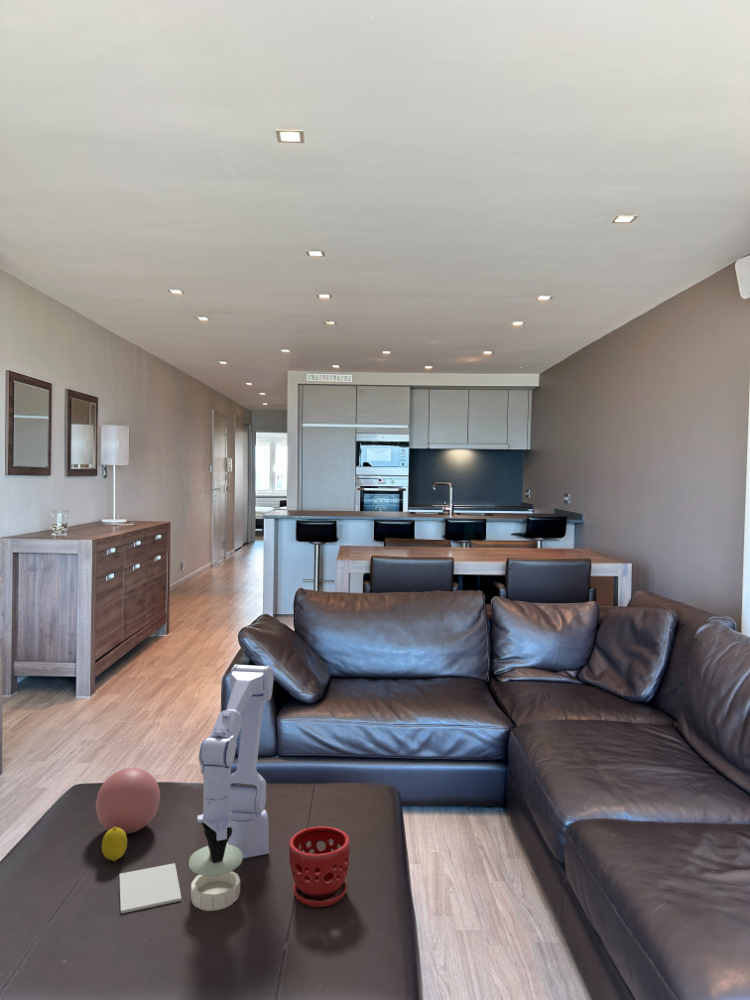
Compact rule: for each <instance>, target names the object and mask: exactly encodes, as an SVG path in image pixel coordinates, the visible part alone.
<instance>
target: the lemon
mask: <svg viewBox="0 0 750 1000" xmlns="http://www.w3.org/2000/svg"><path fill="white" fill-rule="evenodd" d="M127 837H128V836H127V834H126V833H125V832H124V830H123V829H121V828H118V827H113V828H112V829H110V830H107V832H105V834H104V835H103V838H102V842H101V852H102V855H103V856H104V857H105V859H107V860H109V861H112V862H116V861H117V860H119V859H120V858H122V857H123V855H124V854H125V853H126V850H127V848H128V838H127Z"/></svg>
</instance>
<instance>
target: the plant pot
mask: <svg viewBox="0 0 750 1000" xmlns="http://www.w3.org/2000/svg"><path fill="white" fill-rule="evenodd" d="M330 840H332V841H333V843H331V842H330ZM288 842H289V844H288V846H289V847H288V849H289V851H288V853H289V855H288V857H289V867H290V871H291V876H292V879H293V881H294V884H293V895H294V897H295V898H296V899H297V900H298V901H299V902H300V903H302V904H304V905H306V906H309V907H313V908H314V907H315V908H316V907H317V908H319V907H320V908H321V907H328V906H331V905H334V904H336V903H337V902H339V901H340V900H341V899H342V898H343V897H344V896H345V895H346V892H347V890H348V883H347V881H346V877H347V875H348V870H349V863H350V860H349V859H350V851H351V850H350V849H351V848H350V847H351V845H350V837H349V835H348V834H347V833H346V832H345V831H343V830H341V829H340V828H336V827H332V826H326V825H325V826H323V825H321V826H319V825H318V826H312V827H307V828H304V829H302V830H299V831H297V832H296V833H295V834H293V836H292V837H291V838H290V839H289V841H288ZM308 842H310V845H309V846H307V843H308ZM319 842H323V843H324V844H325V847H324V849H319V848H318V846H317V844H318V843H319ZM338 846H340V847H338ZM311 850H313V853H310V851H311Z"/></svg>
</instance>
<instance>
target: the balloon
mask: <svg viewBox="0 0 750 1000" xmlns="http://www.w3.org/2000/svg"><path fill="white" fill-rule="evenodd" d="M160 801H161V790H160V787H159V784H158V782H157V780H156V778H155V777H154V776H153V775H152V774H151V773H149V771H147V770H145V769H142V768H137V767H129V768H128V767H127V768H123V769H120V770H117V771H115V772H114V773H113V774H111V775H110V776H108V778H107V779H106V780H105V781H104V782H103V783H102V785H101V786H100V788H99V790H98V791H97V796H96V800H95V811H96V812H95V813H96V816H97V819H98V821H99V822H100V824H101V825H102V826H103V828H105V829H106V830H107V831H109V830H110V829H112V828H113V827H118V828H121V829H123V830H124V832H125V833H126V835H129V834H133V833H136V832H138V831H140V830H141V829H143V828H145V827H146V826H147V825H148V824H149V823H150V822H151V821H152V820H153V818H154V817H155V816H156V814H157V811H158V810H159V808H160V807H159V806H160Z"/></svg>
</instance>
